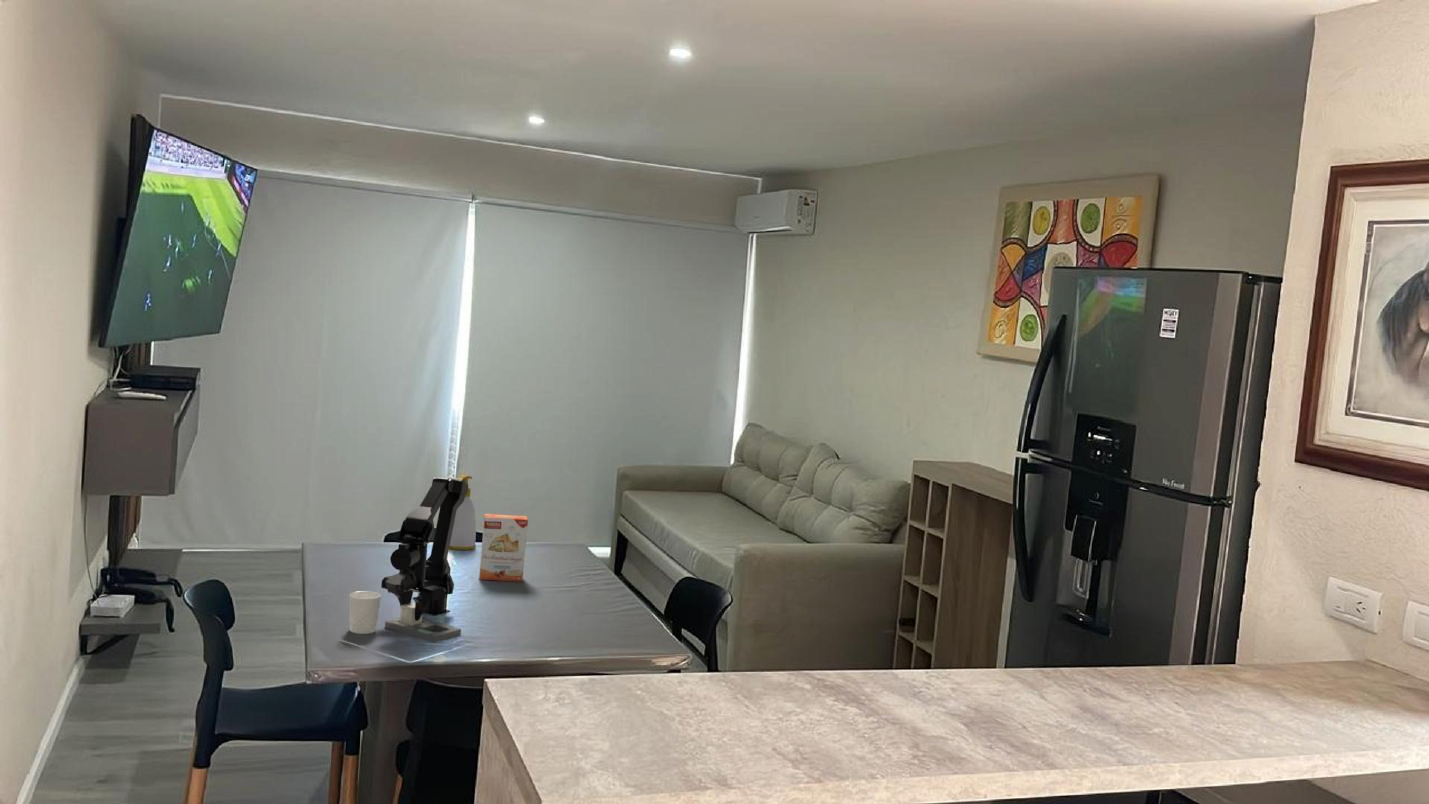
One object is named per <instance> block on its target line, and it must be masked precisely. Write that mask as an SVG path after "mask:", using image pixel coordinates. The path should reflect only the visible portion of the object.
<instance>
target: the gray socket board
mask: <svg viewBox="0 0 1429 804" xmlns="http://www.w3.org/2000/svg"><path fill="white" fill-rule="evenodd" d="M384 628H386V629H388V630H389V629H390V630H392V631H394V632H395V631H396V632H400V633H403V634H404V635H405V634H406V635H409V636H412V637H416V638H418V639H422V640H426V641H429V642H432V643H436V642H440V641H444V640H446V639H450V638H454V637H457V636H460V635H461V634H462V633H461V632H462V629H461V628H459V627H455V626H452V625H449V624H446V623H442V622H440V621H436V620H431V619H428V618H424V617H422V623H420V624H416V625H412V626H410V625H407V624H404V623H400V617H397V618H394V619H390V620H387V621H385V622H384Z"/></svg>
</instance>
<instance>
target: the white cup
mask: <svg viewBox="0 0 1429 804" xmlns="http://www.w3.org/2000/svg"><path fill="white" fill-rule="evenodd" d="M381 597H382V595H381V593H379V592H376V591H370V590H369V591H368V590H360V591H353V592H351V593H349V605H348V606H349V609H348V610H349V611H348V613H349V617H348V618H349V631H350V632H351V633H354V634H360V635H363V634H373V633H375V632H376V631H377V624H378V618H379V613H380V605H381V604H380V603H381Z"/></svg>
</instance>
